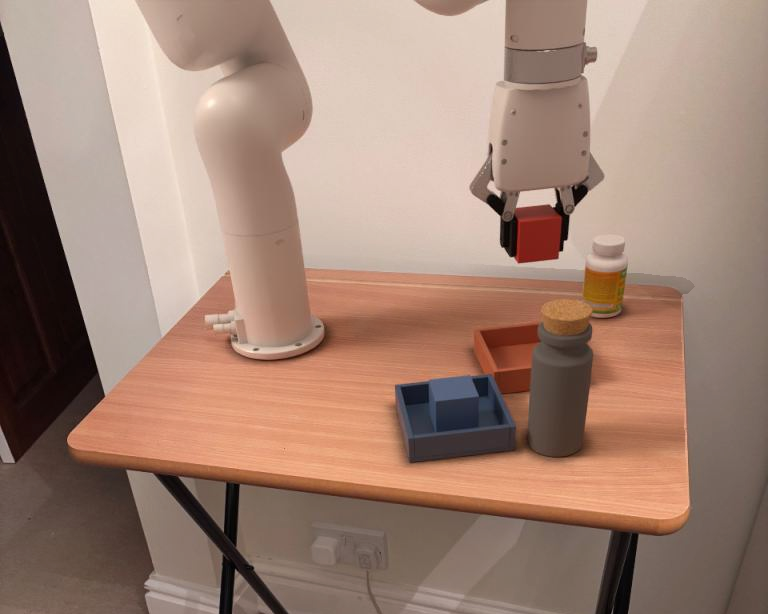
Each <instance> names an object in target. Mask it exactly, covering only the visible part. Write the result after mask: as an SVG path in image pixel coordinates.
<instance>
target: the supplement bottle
mask: <svg viewBox="0 0 768 614" xmlns="http://www.w3.org/2000/svg"><path fill="white" fill-rule="evenodd" d="M625 246H626V238H624V237H623V236H621V235H619V234H618V235H617V234H612V233H610V234H609V233H607V234H605V233H604V234H599V235H596V236H595V237H593V239H592V246H591V247H592V248H591V249H592V252H591V253H590V254H588V255H587V257H586V259H585V264H584V274H583V283H582V291H581V292H582V293H581V300H580V301H582V302H585V303H587V304H589V305H590V306H591V307H592V310H593V311H592V315H591V318H597V319H600V318H601V319H606V318H612V317H615V316H616V317H617V316H618V315H619V314H621V311H622V307H623V301H624V293H625V287H626V282H627V281H626V280H627V274H628V273H627V272H628V266H629V259H628V257H627V256H626V254H624V252H625Z"/></svg>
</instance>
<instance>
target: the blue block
mask: <svg viewBox="0 0 768 614" xmlns="http://www.w3.org/2000/svg"><path fill="white" fill-rule="evenodd" d="M471 376H472V375H471V374H467V375H458V376H457V375H456V376H450V377H440V378H432V379H428V381H429V412H430V419H431V422H432V425H433V428H434V432H435V433H436V432H445V431H453V430H462V429H471V428H479V395H478V393H477V390H476V388H475V385H474V383H473V381H472V378H471Z"/></svg>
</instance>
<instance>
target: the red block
mask: <svg viewBox="0 0 768 614" xmlns="http://www.w3.org/2000/svg"><path fill="white" fill-rule="evenodd" d="M553 207H554V206H552V205H551V204H549V203H548V204H539V205H529V206H521V207H516V209H515V219H516V220H517V223H518V228H517V253H516V256H515V257H513V258H514V260H515V262H516V263H517V264H518V265H519V264H527V263H529V264H530V263H537V262H544V261H545V262H546V261H555V260H559V259H560V252H559V247H560V234H561V221H562V217H561V216H560V215H559V214H558V213H557V212H556V211H555V210H554V209H553Z"/></svg>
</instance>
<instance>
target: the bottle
mask: <svg viewBox="0 0 768 614" xmlns="http://www.w3.org/2000/svg"><path fill="white" fill-rule="evenodd" d="M540 310H541V311H540V312H541V318H542V321H540V322H541V323H540V324H539V326H538V337H539V339H540V340H541V341H542V342H540V343H539V344H537V345H536V346H535V348H534V349H533V355H532V367H531V381H530V390H529V397H528V413H527V431H526V441H527V445H528V447H529V448H530V449H531V450H533V451H534V452H535V453H537V454H540V455H542V456H545V457H551V458H561V457H562V458H563V457H567V456H571V455H574V454H575V453H577V452H579V450H580V449H581V448H582V447H583V443H584V437H585V430H586V421H587V414H588V406H589V405H588V404H589V399H590V390H591V389H590V388H591V380H592V371H593V362H594V351H593V349H592V347H591V346H590V344H588V343H589V342H590V341H591V340H592V336H593V325H592V324H591V323H590V320H591V318H592V317H591V315H592V311H593V310H592V307H591V306H590V305H589V304H587V303H585V302H582V301H581V300H578V299H572V298H557V299H553V300H550V301H548V302H546V303H544V304H543V305H542V306H541V308H540Z"/></svg>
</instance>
